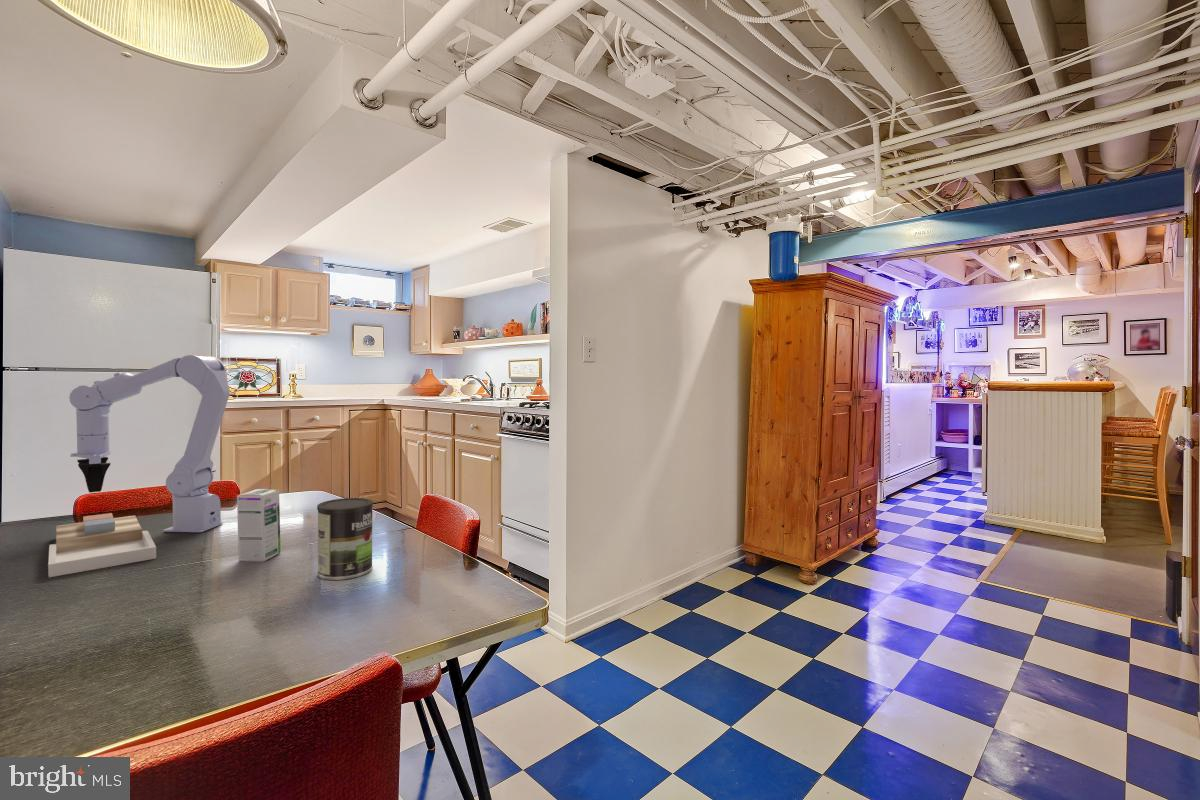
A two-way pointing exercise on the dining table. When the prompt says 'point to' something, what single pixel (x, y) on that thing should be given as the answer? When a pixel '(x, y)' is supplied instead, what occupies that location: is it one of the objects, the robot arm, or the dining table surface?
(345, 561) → the coffee can
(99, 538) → the birch board
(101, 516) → the terracotta tile
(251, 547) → the syrup box
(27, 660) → the dining table surface
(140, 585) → the dining table surface
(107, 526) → the slate tile
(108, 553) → the tray
